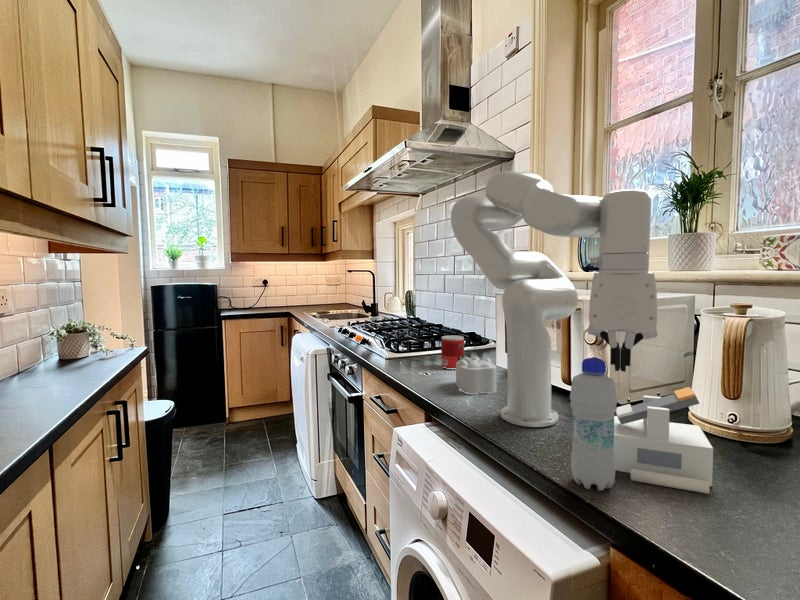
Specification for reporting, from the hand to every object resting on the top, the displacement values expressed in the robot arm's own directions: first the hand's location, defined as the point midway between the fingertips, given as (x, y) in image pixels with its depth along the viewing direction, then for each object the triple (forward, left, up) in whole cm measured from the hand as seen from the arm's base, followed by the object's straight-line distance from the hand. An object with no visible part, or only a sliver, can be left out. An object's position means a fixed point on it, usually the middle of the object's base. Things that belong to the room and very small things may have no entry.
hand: (620, 369), depth 72 cm
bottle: (+11, -4, -16) cm, 20 cm away
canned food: (-56, -50, -16) cm, 76 cm away
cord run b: (+8, +6, -16) cm, 19 cm away
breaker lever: (0, +5, -6) cm, 8 cm away
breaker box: (0, +5, -16) cm, 17 cm away
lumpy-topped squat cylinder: (-34, -36, -16) cm, 52 cm away
